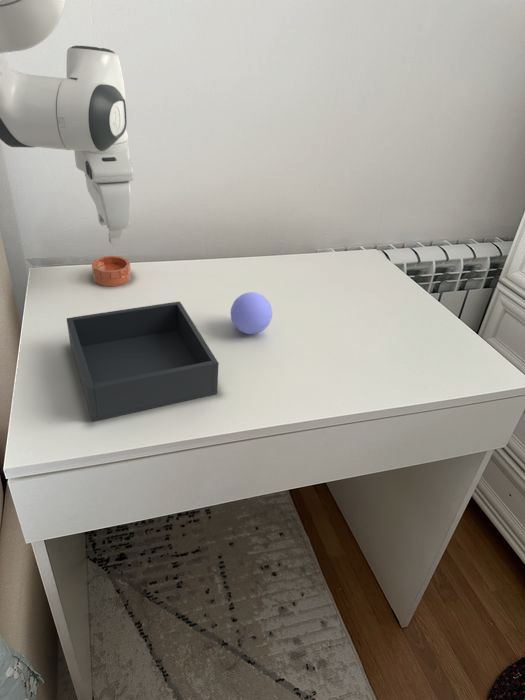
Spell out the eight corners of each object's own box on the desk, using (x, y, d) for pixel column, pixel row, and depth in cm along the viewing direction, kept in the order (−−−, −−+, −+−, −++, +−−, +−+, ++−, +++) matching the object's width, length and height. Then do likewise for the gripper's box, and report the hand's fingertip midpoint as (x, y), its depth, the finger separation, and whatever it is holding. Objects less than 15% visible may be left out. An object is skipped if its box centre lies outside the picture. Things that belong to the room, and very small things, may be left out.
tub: (92, 422, 70) (87, 389, 67) (70, 348, 83) (66, 318, 80) (217, 393, 77) (218, 362, 74) (180, 330, 90) (179, 301, 86)
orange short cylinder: (97, 288, 99) (95, 274, 97) (90, 272, 104) (89, 258, 102) (134, 283, 101) (133, 269, 100) (125, 267, 106) (124, 254, 104)
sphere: (253, 347, 87) (256, 310, 83) (221, 330, 91) (222, 294, 87) (278, 330, 92) (282, 295, 88) (247, 315, 95) (249, 280, 91)
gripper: (73, 139, 96) (82, 213, 104) (94, 176, 81) (102, 259, 89) (108, 138, 98) (114, 211, 106) (135, 173, 83) (140, 255, 91)
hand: (109, 233), depth 97 cm, fingers open, 8 cm apart
